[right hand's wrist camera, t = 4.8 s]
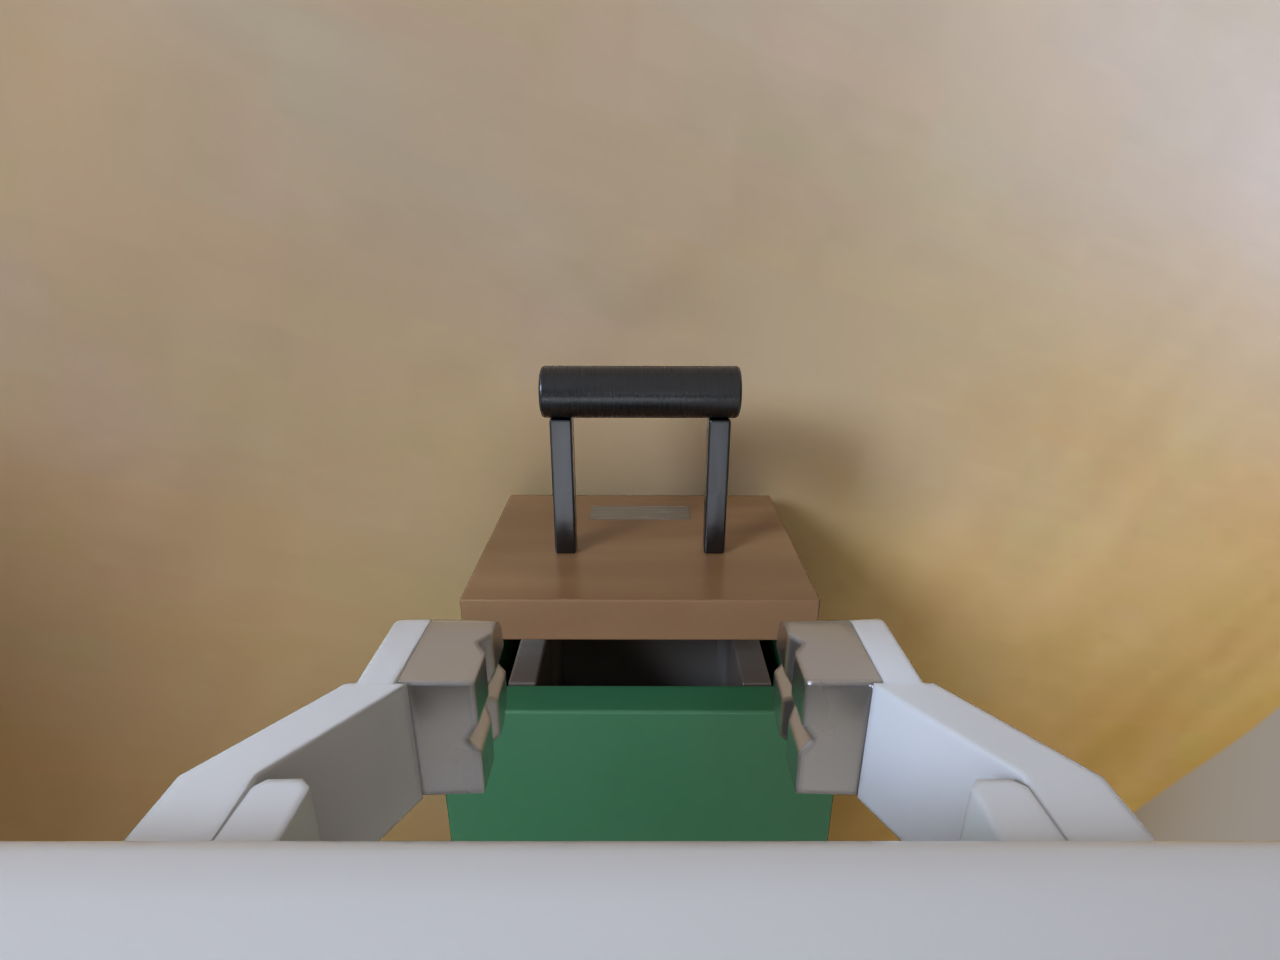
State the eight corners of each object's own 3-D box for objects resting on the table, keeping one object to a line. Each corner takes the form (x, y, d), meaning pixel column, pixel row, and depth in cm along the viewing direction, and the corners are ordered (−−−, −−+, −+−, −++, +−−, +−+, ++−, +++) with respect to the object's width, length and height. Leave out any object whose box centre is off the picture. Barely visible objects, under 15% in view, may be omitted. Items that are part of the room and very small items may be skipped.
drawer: (500, 340, 22) (437, 390, 15) (780, 341, 22) (842, 390, 15) (535, 859, 30) (504, 1045, 23) (743, 860, 30) (773, 1045, 23)
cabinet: (504, 548, 26) (434, 710, 17) (775, 548, 26) (845, 712, 17) (530, 903, 32) (489, 1153, 24) (748, 903, 32) (788, 1155, 24)
